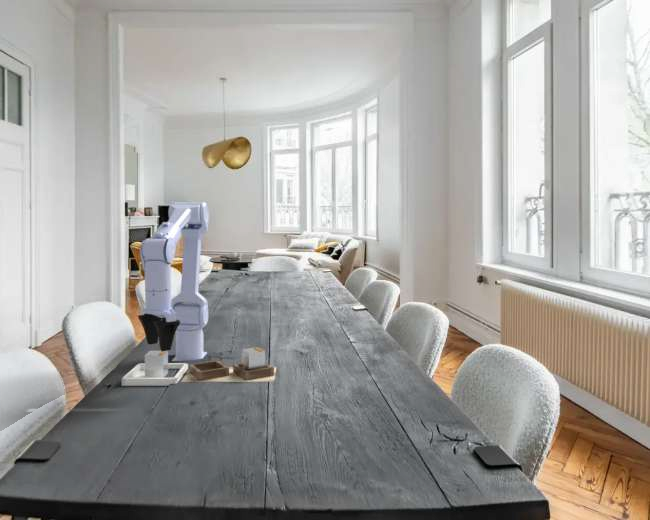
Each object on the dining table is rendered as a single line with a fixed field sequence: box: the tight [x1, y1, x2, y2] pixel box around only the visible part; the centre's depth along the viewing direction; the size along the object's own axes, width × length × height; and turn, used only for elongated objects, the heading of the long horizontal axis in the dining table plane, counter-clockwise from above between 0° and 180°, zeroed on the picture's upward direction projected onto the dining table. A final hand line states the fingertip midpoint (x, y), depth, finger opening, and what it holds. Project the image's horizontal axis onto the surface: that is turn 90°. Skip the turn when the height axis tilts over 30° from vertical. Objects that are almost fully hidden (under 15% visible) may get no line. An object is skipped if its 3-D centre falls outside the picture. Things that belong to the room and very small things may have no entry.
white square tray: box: [120, 362, 189, 387], centre depth 122 cm, size 13×13×2 cm
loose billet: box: [144, 350, 169, 378], centre depth 122 cm, size 4×4×6 cm
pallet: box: [180, 359, 277, 383], centre depth 124 cm, size 12×22×3 cm, turn 93°
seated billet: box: [241, 346, 266, 371], centre depth 124 cm, size 4×4×6 cm
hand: (159, 346), depth 117 cm, fingers open, 7 cm apart
